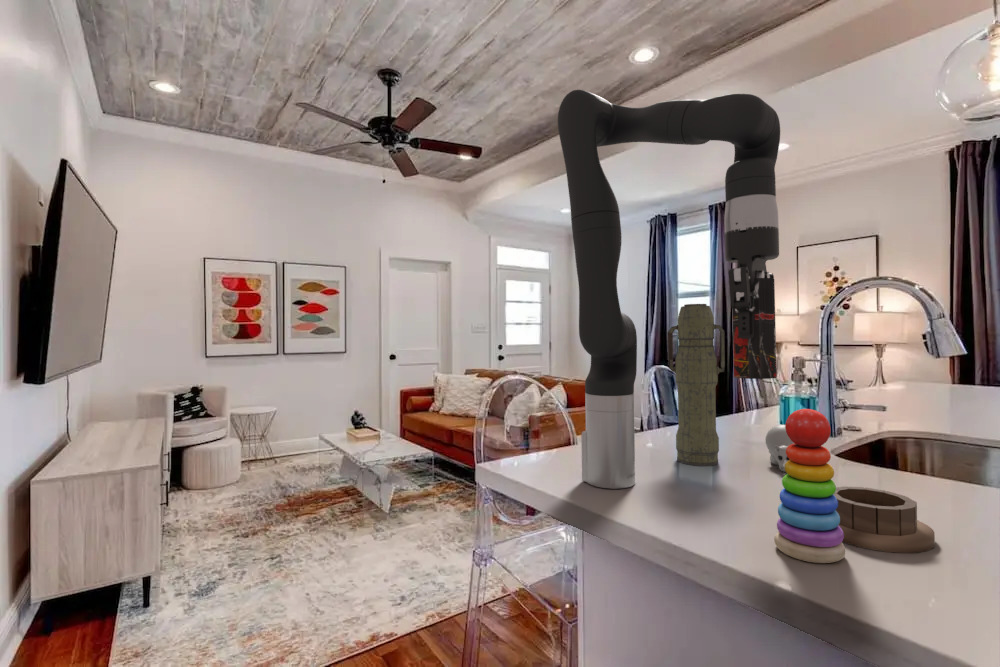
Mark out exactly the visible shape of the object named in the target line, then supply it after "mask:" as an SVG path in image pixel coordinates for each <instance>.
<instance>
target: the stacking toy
mask: <svg viewBox="0 0 1000 667" xmlns="http://www.w3.org/2000/svg"><path fill="white" fill-rule="evenodd" d="M786 418H787V419H786V420H785V424H784V425H785V429H786V433H787V435H788V437H789V438H790V439H791V441H792V442H794V443H795V444H791V445H789V446H788V447H787V449H786V455H787V457H788V458H789V459H790V460H789V461H787V462H786V464H785V471H786V472H785V473H786V474H785V475H784V476H783V477H782V479H781V484H782V487H783V488H782V489H781V491H780V493H779V500H780V502H781V503H780V504H779V505H778V508H777V514H778V516H779V518H778V520H777V522H776V529H777V531H778V532H776V533H775V535H774V544H775V546H776V548H777V549H779V551H780V552H782V553H783V554H785V555H787V556H788V557H791V558H793V559H797V560H799V561H804V562H809V563H815V564H831V563H836V562H839V561H841V560H843V559H844V557H845V556H846V552H847V551H846V547H845V544H844V542H842V541H843V538H844V533H843V530H842V529H841V528H840V527H839V526H838V525H839V523H840V516H839V514H838V513H837V512H836V511H835V510H836V509H837V507H838V501H837V499H836V497H835V496H834V495H833V494H834V493H835V491H836V487H837V486H836V484H835V482H834V480H832V479H833V478H834V476H835V470H834V468H833V466H832V465H831V464H829V462H830V460H831V452H830V450H828V449H827V447H824V446H823V445H824V444H826V443H827V441H828V440H829V438H830V436H831V432H832V431H831V424H830V422H829V419H828V418H827V417H826V416H825V415H824V414H823V413H821V412H820V411H818V410H815V409H811V408H801V409H797V410H795V411H793V412H792V413H790V414H789V416H788V417H786Z"/></svg>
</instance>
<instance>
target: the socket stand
mask: <svg viewBox="0 0 1000 667" xmlns="http://www.w3.org/2000/svg"><path fill="white" fill-rule="evenodd" d="M833 495H834V496H835V497H836V499H837V501H838V507H837V509H836V510H835V511H836V512H837V513H838V514H839V516H840V523H839V525H838V526H839V527H840V528H841V529H842V530H843V533H844V538H843V541H842V543H843V544H846V545H847V544H848V545H851V546H854V547H855V546H856V547H859V548H864V549H867V550H874V551H879V552H880V551H881V552H887V553H898V554H914V553H923V552H928V551H930V550H932V549H933V548H934V547H935V546H936V545H935V544H936V543H935V542H936V541H935V539H936V538H935V531H934V529H933V528H932V527H931V526H929V525H928V524H926V523H924V522H923V521H920V520H918V506H917V505H918V502H917V501H915V500H914V499H912V498H910V497H908V496H906V495H903V494H899V493H896V492H892V491H889V490H884V489H879V488H878V489H877V488H871V487H863V486H836V491H835V493H834V494H833Z"/></svg>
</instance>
